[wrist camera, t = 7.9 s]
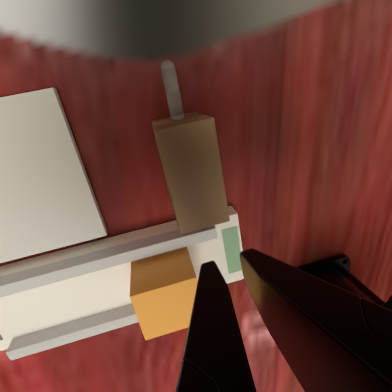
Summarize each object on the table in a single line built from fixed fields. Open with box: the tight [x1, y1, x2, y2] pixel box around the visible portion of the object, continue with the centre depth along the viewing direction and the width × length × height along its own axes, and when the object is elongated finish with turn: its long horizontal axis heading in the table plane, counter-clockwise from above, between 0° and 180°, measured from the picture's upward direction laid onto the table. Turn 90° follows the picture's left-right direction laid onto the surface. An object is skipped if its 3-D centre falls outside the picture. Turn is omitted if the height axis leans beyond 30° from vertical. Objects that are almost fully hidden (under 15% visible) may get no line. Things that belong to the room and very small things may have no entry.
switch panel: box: [0, 206, 244, 360], centre depth 20 cm, size 20×6×3 cm, turn 101°
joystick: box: [151, 60, 230, 234], centre depth 16 cm, size 3×9×5 cm, turn 11°
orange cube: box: [130, 246, 198, 340], centre depth 18 cm, size 4×4×4 cm
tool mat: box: [0, 87, 108, 263], centre depth 17 cm, size 9×10×1 cm
